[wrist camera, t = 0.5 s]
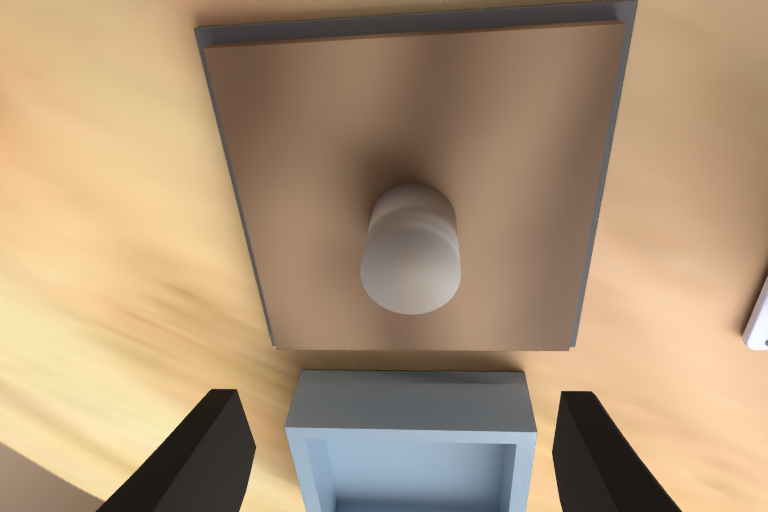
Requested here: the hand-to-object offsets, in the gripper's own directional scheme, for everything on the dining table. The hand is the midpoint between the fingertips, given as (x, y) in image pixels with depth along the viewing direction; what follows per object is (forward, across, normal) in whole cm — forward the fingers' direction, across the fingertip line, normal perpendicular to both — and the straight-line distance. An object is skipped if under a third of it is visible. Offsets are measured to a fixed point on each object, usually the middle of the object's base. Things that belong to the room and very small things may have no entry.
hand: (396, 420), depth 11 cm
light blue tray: (+10, +1, +14) cm, 18 cm away
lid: (+10, 0, 0) cm, 10 cm away
